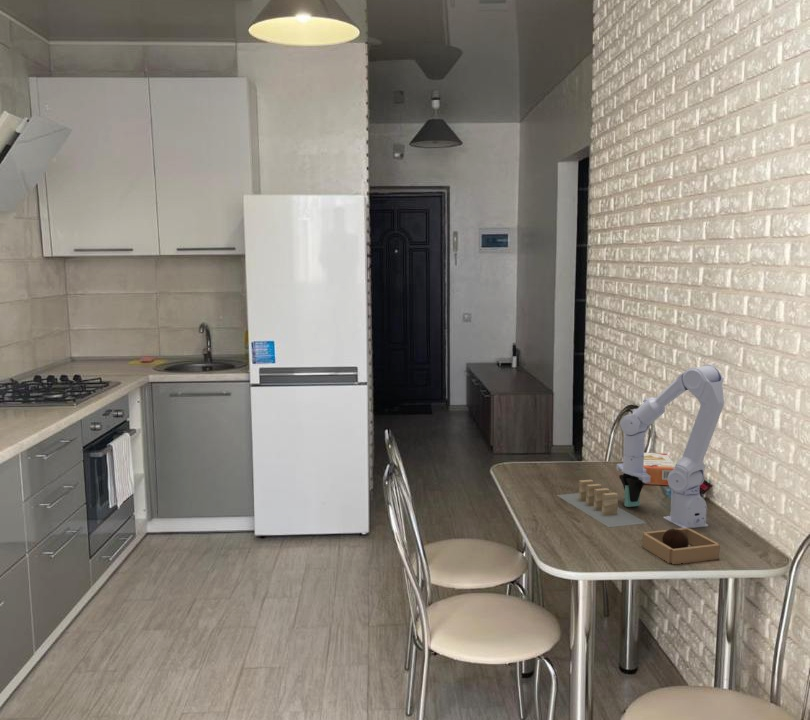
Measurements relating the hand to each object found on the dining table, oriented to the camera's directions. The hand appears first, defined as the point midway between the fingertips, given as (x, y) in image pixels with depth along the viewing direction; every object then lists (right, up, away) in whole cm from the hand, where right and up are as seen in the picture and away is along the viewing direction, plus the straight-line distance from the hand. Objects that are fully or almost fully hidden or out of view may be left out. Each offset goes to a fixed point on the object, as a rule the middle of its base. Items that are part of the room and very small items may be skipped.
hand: (632, 500), depth 231 cm
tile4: (-11, -2, +2) cm, 11 cm away
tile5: (-12, -1, +6) cm, 14 cm away
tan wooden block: (-10, -2, -3) cm, 10 cm away
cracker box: (+14, +4, +23) cm, 27 cm away
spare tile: (0, -2, 0) cm, 2 cm away
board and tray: (-5, -4, -14) cm, 15 cm away
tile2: (-8, -3, -7) cm, 11 cm away
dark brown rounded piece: (+1, -7, -34) cm, 35 cm away
